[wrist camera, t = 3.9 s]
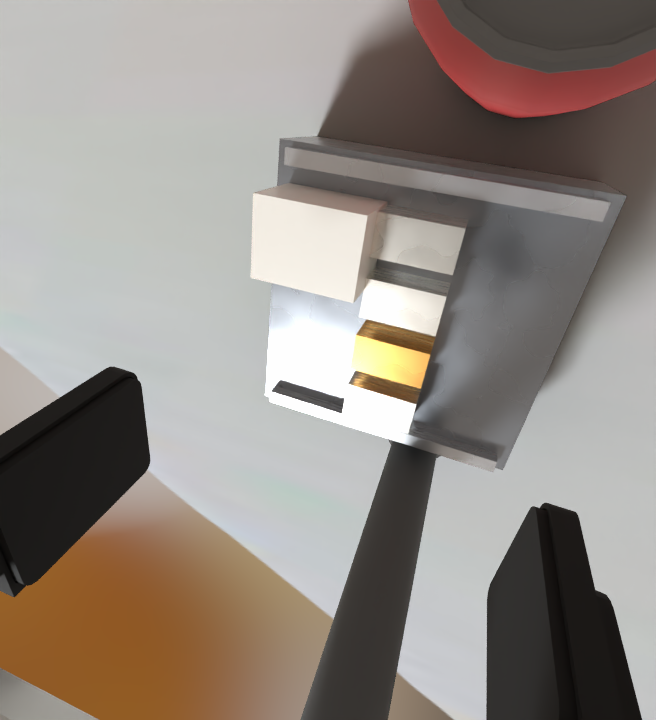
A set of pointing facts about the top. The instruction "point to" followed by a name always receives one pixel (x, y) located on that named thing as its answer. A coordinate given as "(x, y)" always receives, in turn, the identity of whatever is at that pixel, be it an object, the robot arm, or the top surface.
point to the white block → (313, 239)
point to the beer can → (541, 50)
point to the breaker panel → (479, 312)
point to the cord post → (375, 596)
